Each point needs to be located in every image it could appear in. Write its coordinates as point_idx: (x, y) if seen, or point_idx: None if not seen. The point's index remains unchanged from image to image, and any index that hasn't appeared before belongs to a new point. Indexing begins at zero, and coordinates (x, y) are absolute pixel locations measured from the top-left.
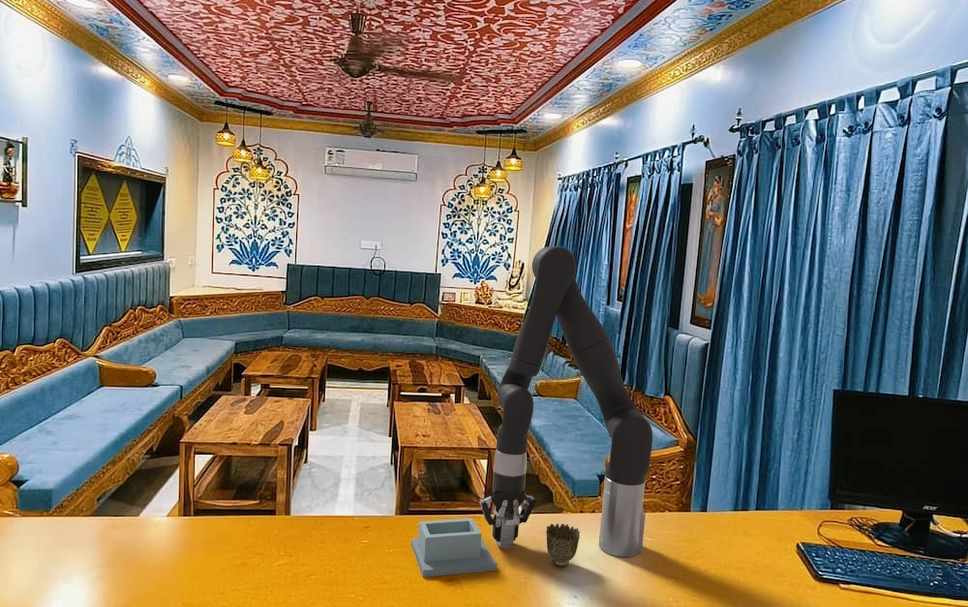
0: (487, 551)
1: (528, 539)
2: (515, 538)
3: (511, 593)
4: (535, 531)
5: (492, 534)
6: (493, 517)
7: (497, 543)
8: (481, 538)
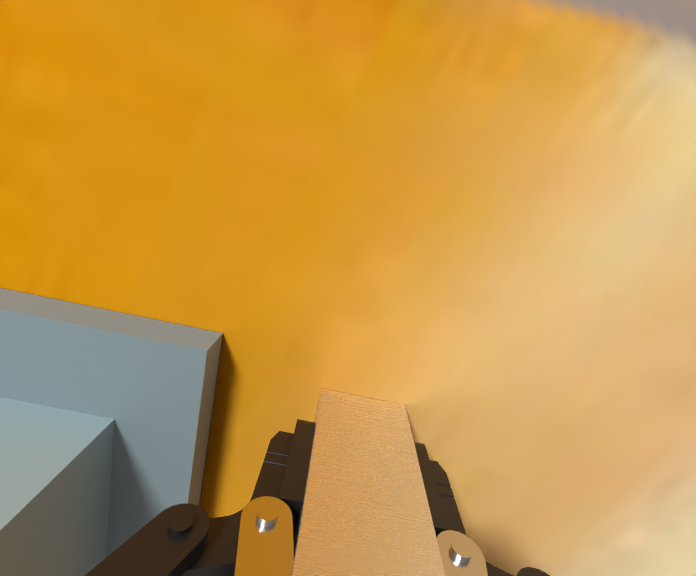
0: None
1: (527, 434)
2: None
3: None
4: (645, 365)
5: (269, 445)
6: (237, 550)
7: (315, 418)
8: (198, 413)
